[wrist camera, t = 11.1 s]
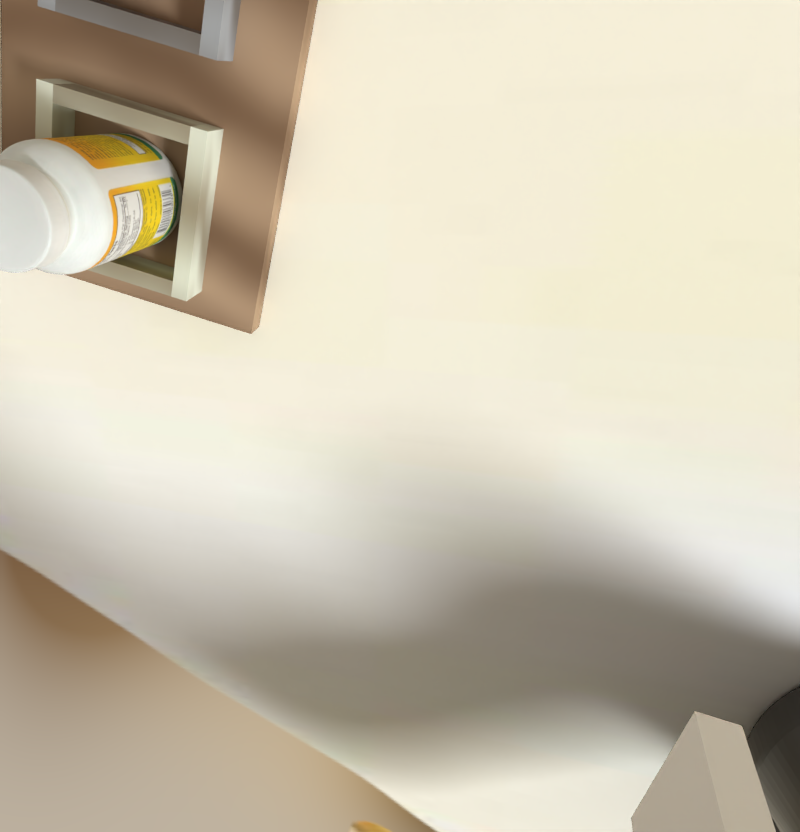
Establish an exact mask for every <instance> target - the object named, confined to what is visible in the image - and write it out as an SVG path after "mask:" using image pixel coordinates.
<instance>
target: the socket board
mask: <svg viewBox="0 0 800 832" xmlns="http://www.w3.org/2000/svg"><path fill="white" fill-rule="evenodd" d="M317 1H318V0H1V28H2V152H3V151H4V150H5V149H6V148H8V147H9V146H11V145H13V144H15V143H18V142H21V141H24V140H30V139H42V138H57V137H72V136H85V135H98V134H108V133H126V134H131V135H135V136H138V137H140V138H143V139H145V140H146V141H149V142H150V143H152V144H153V145H155V146H156V147H158V148H159V149H160V150H161V151H162V152H163V153H164V154H165V155H166V157H167V158H168V159H169V160H170V162H171V163H172V165H173V166H174V168H175V170H176V172H177V175H178V177H179V180H180V183H181V188H182V195H183V197H182V206H181V215H180V219H179V221H178V223H177V225H176V227H175V228H174V230H173V231H172V232H171V234H170V235H169V236H168V237H166V238H165V239H164V240H162V241H161V242H159V243H157V244H155V245H152V246H150V247H147V248H144V249H141V250H139V251H136V252H133V253H131V254H128V255H125V256H123V257H120V258H117V259H114V260H112V261H109V262H107V263H104V264H101V265H99V266H96V267H93V268H90V269H88V270H85V271H82V272H78V273H74V274H64V275H67V276H70V277H74V278H77V279H80V280H83V281H86V282H89V283H92V284H96V285H99V286H102V287H105V288H108V289H111V290H114V291H118V292H121V293H124V294H127V295H130V296H133V297H136V298H140V299H143V300H146V301H149V302H152V303H155V304H158V305H162V306H165V307H168V308H171V309H174V310H177V311H180V312H184V313H187V314H190V315H193V316H196V317H199V318H202V319H206V320H209V321H212V322H215V323H218V324H221V325H225V326H228V327H231V328H234V329H237V330H240V331H243V332H247V333H250V334H251V333H253V332H254V331H255V330H256V329H257V328H258V327H259V323H260V318H261V312H262V307H263V301H264V296H265V290H266V284H267V279H268V273H269V268H270V262H271V257H272V251H273V246H274V240H275V235H276V229H277V223H278V218H279V212H280V207H281V201H282V196H283V190H284V185H285V179H286V173H287V168H288V162H289V157H290V151H291V146H292V140H293V135H294V129H295V124H296V118H297V112H298V107H299V101H300V96H301V90H302V85H303V79H304V74H305V68H306V62H307V57H308V51H309V46H310V40H311V35H312V29H313V24H314V18H315V13H316V7H317Z"/></svg>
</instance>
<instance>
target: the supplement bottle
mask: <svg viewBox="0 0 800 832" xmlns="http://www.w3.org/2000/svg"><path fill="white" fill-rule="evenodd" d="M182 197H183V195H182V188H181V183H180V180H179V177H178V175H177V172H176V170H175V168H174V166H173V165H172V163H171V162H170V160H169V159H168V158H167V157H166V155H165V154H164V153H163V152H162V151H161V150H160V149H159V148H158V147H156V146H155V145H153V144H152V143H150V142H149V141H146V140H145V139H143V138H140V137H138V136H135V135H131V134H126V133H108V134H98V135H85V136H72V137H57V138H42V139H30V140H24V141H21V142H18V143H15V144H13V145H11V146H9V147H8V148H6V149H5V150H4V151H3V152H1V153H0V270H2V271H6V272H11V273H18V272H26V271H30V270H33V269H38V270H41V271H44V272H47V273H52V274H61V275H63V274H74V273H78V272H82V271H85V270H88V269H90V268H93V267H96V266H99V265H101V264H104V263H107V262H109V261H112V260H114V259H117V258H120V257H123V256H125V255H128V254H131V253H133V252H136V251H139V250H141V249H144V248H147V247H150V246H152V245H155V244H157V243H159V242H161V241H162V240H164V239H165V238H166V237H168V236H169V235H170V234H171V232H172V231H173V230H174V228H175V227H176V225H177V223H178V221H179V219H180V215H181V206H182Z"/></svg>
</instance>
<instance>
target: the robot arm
mask: <svg viewBox="0 0 800 832" xmlns="http://www.w3.org/2000/svg"><path fill="white" fill-rule="evenodd" d="M631 820H632V828H633V832H800V687H799V688H797V689H795V690H793V691H792V692H790V693H788V694H787V695H785V696H784V697H782V698H781V699H780V700H778V701H777V702H776V703H775V704H774V705H772V706H771V707H770V708H769V709H768V710H767V711H766V712H765V713H764V714H763V716H762V717H761V718H760V719H759V721H758V722H757V723H756V725H755V727H754V728H753V730H752V732H751V734H750V737H749V739H748V743H747V740H746V737H745V734H744V730H743V727H742V726H741V725H738V724H735V723H732V722H729V721H725V720H722V719H719V718H716V717H713V716H709V715H706V714H703V713H700V712H697V711H694V713H693V715H692V716H691V718H690V720H689V721H688V723H687V725H686V726H685V728H684V730H683V731H682V733H681V735H680V737H679V738H678V740H677V742H676V743H675V745H674V747H673V748H672V750H671V752H670V753H669V755H668V757H667V758H666V760H665V762H664V763H663V765H662V767H661V769H660V770H659V772H658V774H657V775H656V777H655V779H654V780H653V782H652V784H651V785H650V787H649V789H648V790H647V792H646V794H645V796H644V797H643V799H642V801H641V802H640V804H639V806H638V807H637V809H636V811H635V812H634V814H633V816H632V817H631Z"/></svg>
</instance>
